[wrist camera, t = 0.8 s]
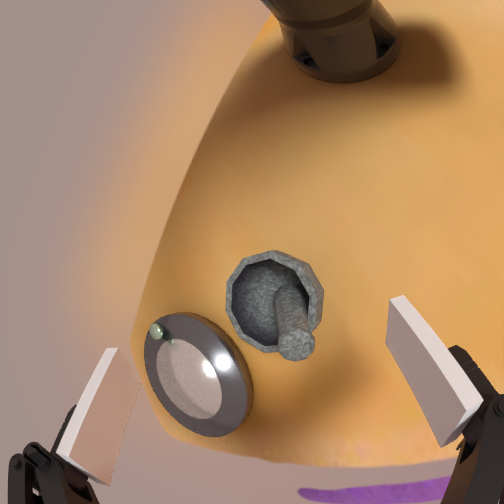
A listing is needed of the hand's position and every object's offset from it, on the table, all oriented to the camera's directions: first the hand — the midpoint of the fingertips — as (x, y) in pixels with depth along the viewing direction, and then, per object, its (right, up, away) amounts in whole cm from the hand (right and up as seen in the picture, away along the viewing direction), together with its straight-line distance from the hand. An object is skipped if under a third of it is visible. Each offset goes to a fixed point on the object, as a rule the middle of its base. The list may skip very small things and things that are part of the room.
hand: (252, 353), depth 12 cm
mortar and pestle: (+6, 0, +19) cm, 20 cm away
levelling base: (-8, -14, +27) cm, 31 cm away
